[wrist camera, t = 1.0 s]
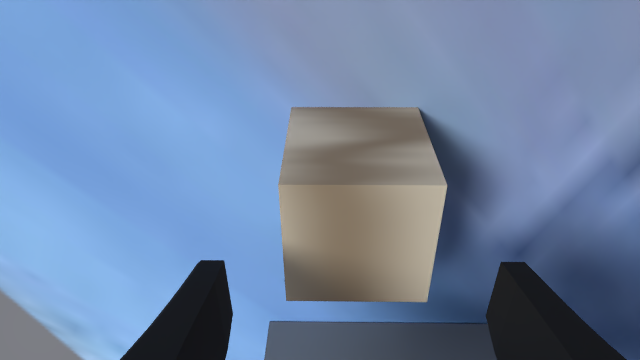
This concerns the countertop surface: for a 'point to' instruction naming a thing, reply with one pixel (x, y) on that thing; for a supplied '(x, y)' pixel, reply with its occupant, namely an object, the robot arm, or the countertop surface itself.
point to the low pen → (378, 341)
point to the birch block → (359, 204)
